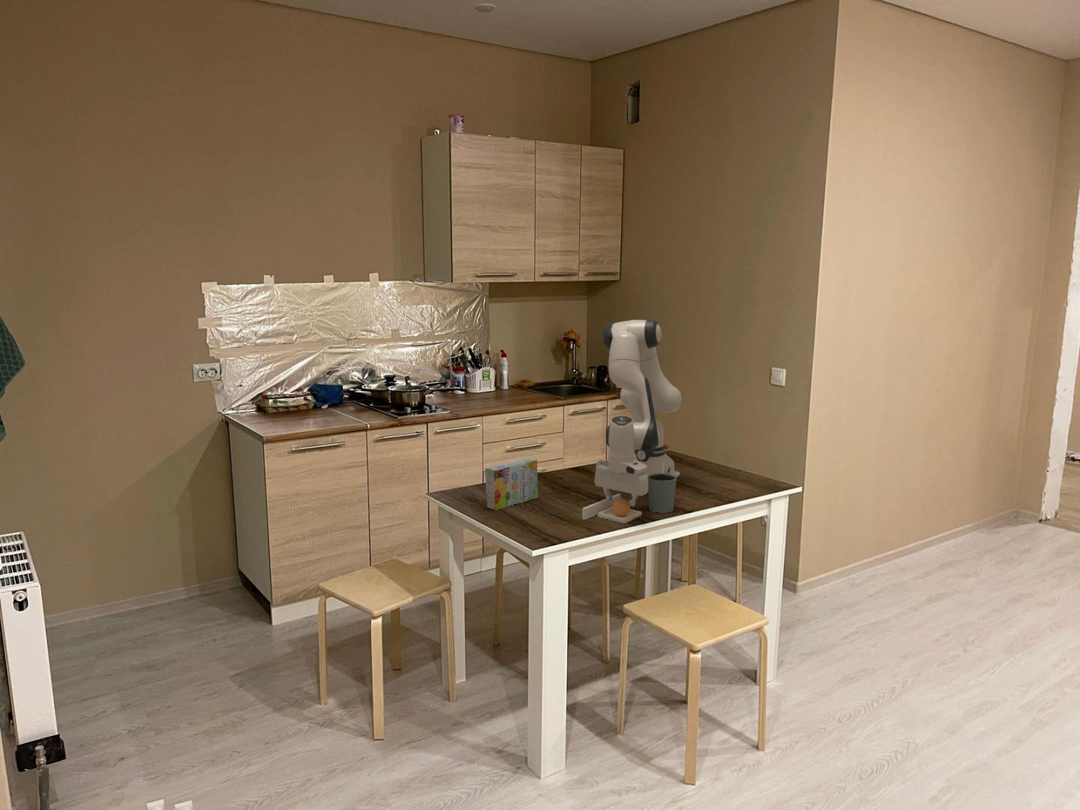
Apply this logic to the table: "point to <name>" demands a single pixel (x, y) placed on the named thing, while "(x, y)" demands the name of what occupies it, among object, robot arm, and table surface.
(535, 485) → the snack box
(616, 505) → the ball
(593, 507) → the low wall
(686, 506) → the table surface
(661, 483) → the grey green cup
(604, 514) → the square tray
